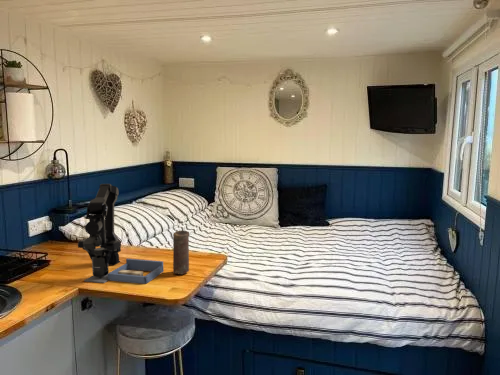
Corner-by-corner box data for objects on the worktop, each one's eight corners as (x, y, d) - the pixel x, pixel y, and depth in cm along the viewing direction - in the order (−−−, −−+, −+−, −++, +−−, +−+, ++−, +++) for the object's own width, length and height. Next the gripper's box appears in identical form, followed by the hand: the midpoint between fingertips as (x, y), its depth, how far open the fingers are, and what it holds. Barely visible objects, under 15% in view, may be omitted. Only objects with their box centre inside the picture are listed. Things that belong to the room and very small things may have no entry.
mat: (84, 281, 170) (84, 280, 170) (98, 273, 180) (98, 272, 180) (103, 283, 168) (103, 282, 168) (117, 275, 177) (116, 274, 177)
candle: (192, 271, 182) (191, 230, 180) (184, 276, 176) (183, 234, 173) (178, 269, 185) (177, 229, 182) (170, 274, 178) (169, 233, 176)
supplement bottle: (93, 278, 169) (91, 252, 167) (92, 273, 175) (90, 248, 173) (109, 275, 172) (108, 249, 171) (107, 270, 178) (106, 246, 177)
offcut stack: (115, 280, 172) (114, 271, 172) (118, 277, 175) (118, 269, 175) (140, 282, 169) (140, 273, 169) (144, 280, 172) (144, 271, 172)
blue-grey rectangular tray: (107, 280, 171) (107, 269, 171) (127, 268, 187) (127, 258, 187) (146, 283, 167) (145, 272, 166) (163, 271, 183) (163, 261, 182)
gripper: (68, 232, 165) (70, 266, 167) (105, 234, 161) (107, 270, 163) (85, 226, 176) (86, 259, 178) (120, 228, 172) (122, 262, 174)
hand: (100, 262), depth 173 cm, fingers closed on supplement bottle, 7 cm apart
